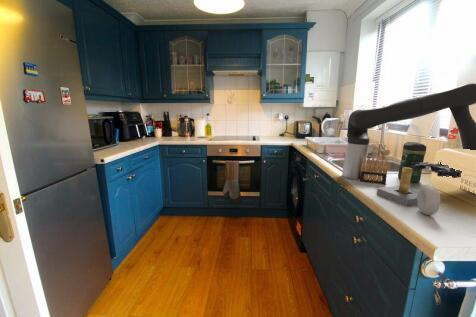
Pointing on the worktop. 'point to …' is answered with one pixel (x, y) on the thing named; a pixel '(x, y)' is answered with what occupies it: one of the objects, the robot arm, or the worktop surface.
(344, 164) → the robot arm
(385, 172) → the ammunition clip
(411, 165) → the coffee jar
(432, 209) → the donut
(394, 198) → the socket block
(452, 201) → the worktop surface
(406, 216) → the worktop surface
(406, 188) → the dowel
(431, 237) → the worktop surface
